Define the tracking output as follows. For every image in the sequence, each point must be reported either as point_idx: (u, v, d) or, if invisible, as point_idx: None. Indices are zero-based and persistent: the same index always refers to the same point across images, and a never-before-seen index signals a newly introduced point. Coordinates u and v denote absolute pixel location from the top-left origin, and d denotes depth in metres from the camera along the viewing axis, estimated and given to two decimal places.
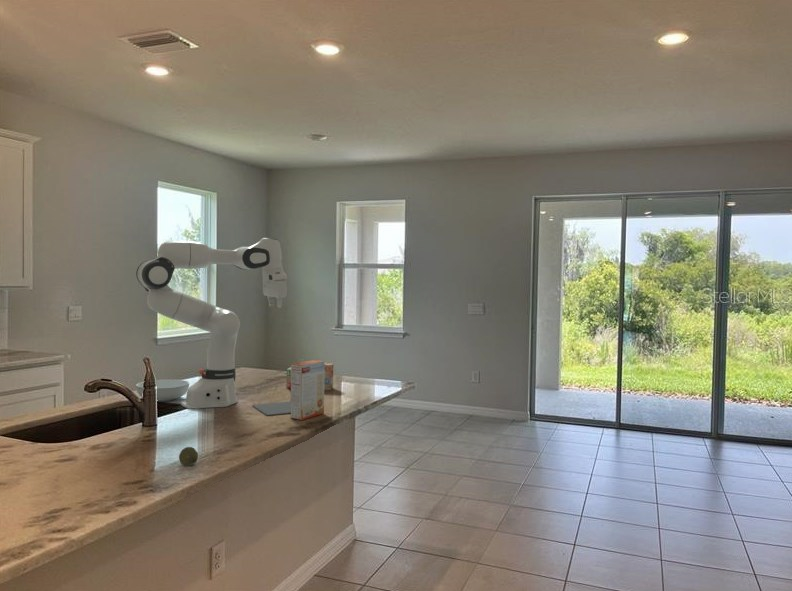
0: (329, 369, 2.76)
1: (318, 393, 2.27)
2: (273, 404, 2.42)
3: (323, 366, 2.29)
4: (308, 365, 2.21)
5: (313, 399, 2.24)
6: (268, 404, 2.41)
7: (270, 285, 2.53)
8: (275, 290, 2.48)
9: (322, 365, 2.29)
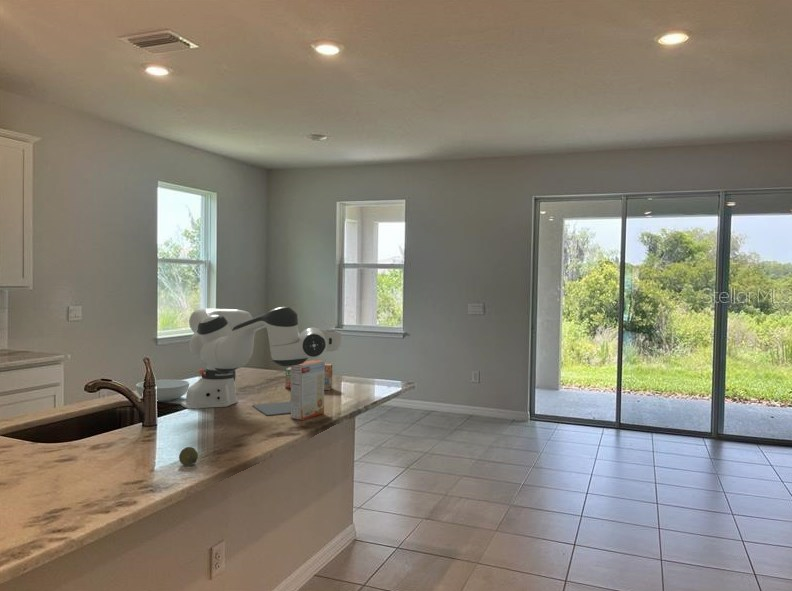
0: (328, 369, 2.76)
1: (318, 393, 2.27)
2: (273, 404, 2.42)
3: (323, 366, 2.29)
4: (308, 365, 2.21)
5: (312, 399, 2.24)
6: (268, 404, 2.41)
7: None
8: None
9: (322, 365, 2.29)
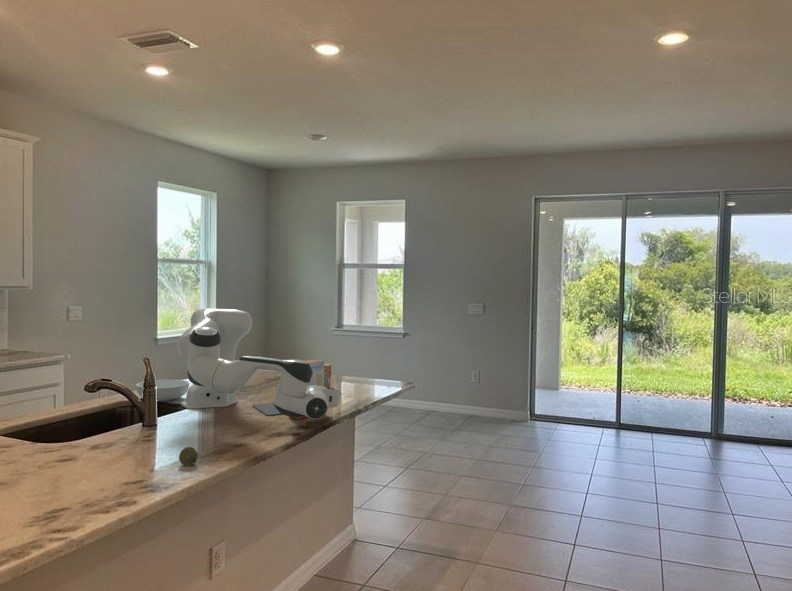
0: (326, 369, 2.75)
1: None
2: (273, 404, 2.42)
3: (322, 365, 2.30)
4: None
5: None
6: (268, 404, 2.41)
7: None
8: None
9: (321, 364, 2.29)
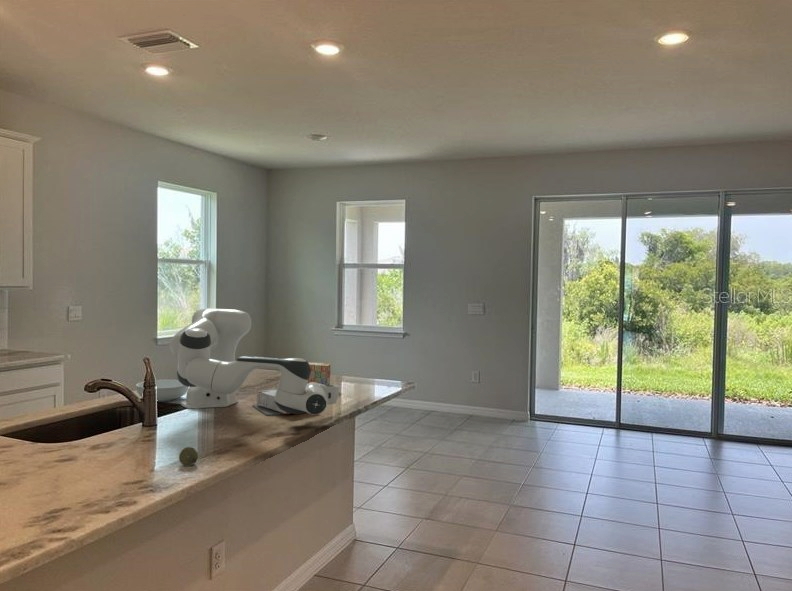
0: (326, 369, 2.75)
1: None
2: None
3: None
4: (265, 390, 2.40)
5: None
6: None
7: None
8: None
9: None
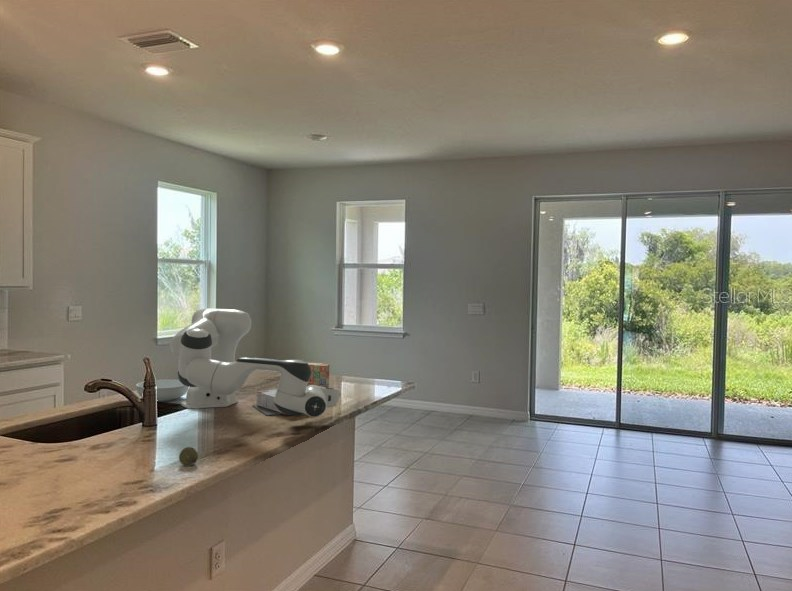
0: (324, 370, 2.74)
1: None
2: None
3: None
4: None
5: None
6: None
7: None
8: None
9: None
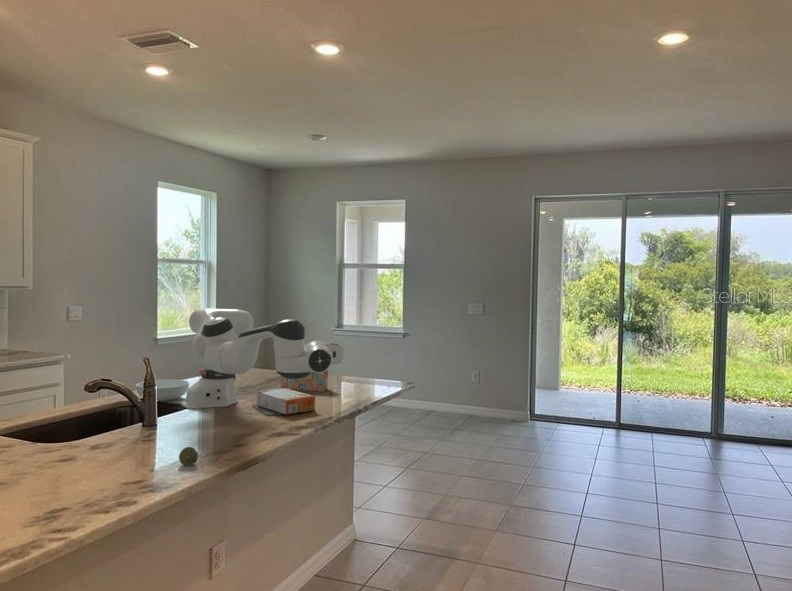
0: None
1: (293, 393, 2.37)
2: None
3: (285, 388, 2.46)
4: None
5: (290, 395, 2.33)
6: None
7: None
8: None
9: (283, 388, 2.46)
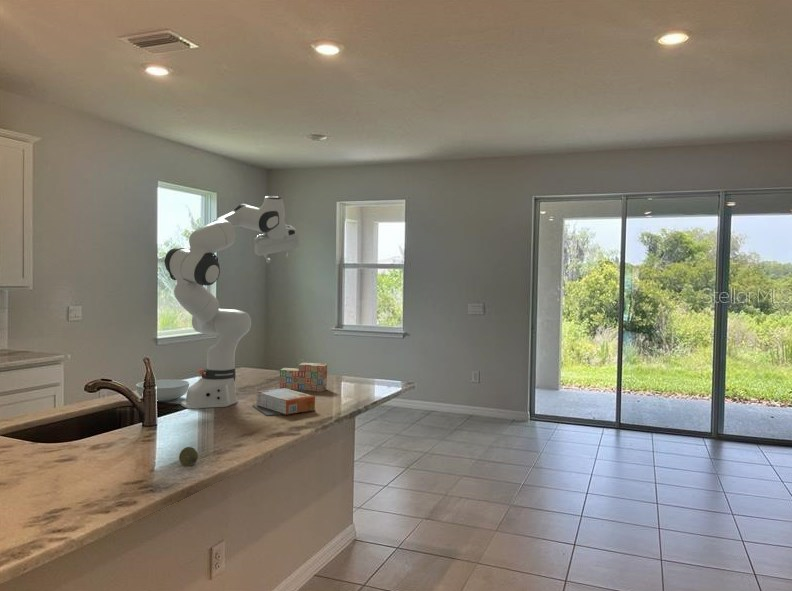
0: (322, 370, 2.73)
1: (293, 393, 2.37)
2: None
3: (285, 388, 2.46)
4: None
5: (290, 395, 2.33)
6: None
7: (278, 241, 2.58)
8: (291, 243, 2.62)
9: (283, 388, 2.46)
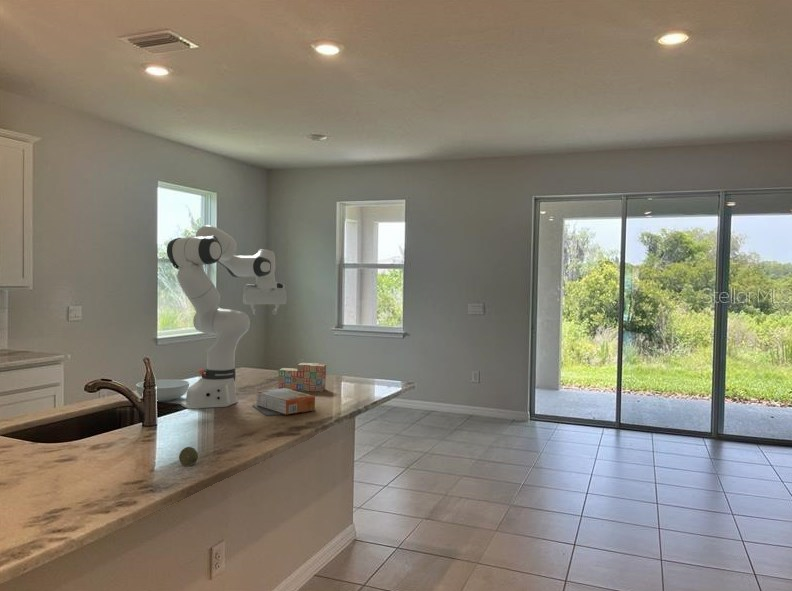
0: (321, 370, 2.73)
1: (293, 393, 2.37)
2: None
3: (285, 388, 2.46)
4: None
5: (290, 395, 2.33)
6: None
7: (266, 293, 2.72)
8: (279, 298, 2.75)
9: (283, 388, 2.46)
